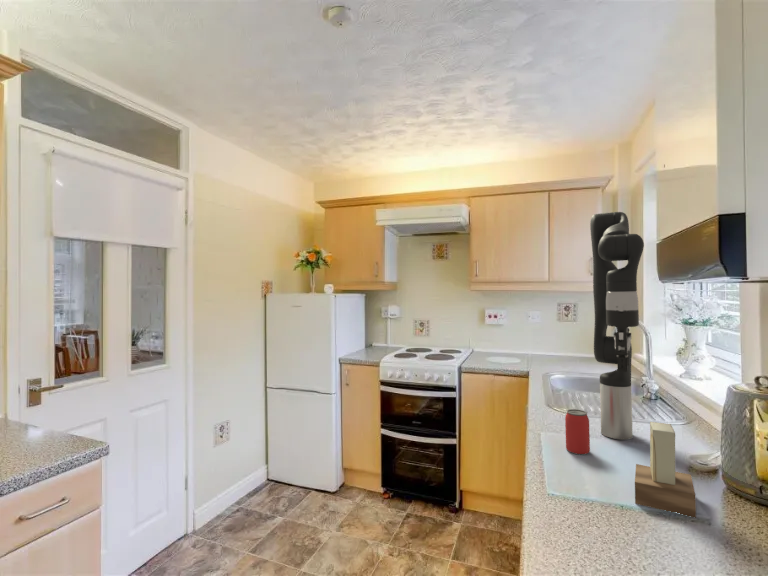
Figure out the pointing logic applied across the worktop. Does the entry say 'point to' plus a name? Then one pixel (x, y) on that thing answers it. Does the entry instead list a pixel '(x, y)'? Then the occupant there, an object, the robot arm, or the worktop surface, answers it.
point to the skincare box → (662, 453)
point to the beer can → (577, 432)
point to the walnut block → (665, 492)
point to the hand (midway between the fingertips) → (623, 368)
